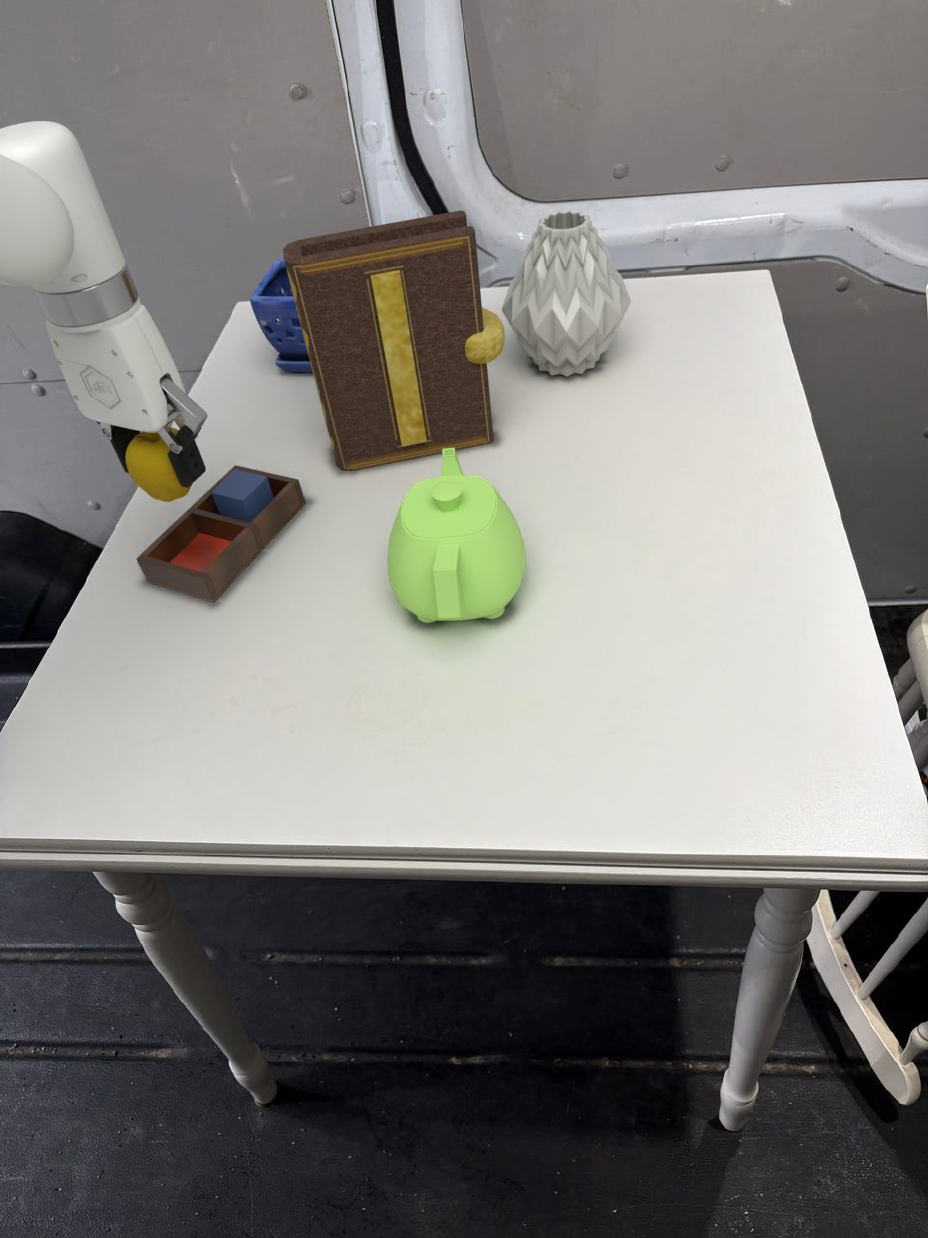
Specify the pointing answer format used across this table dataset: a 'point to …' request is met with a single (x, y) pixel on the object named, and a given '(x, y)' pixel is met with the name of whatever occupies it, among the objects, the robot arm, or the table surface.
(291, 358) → the flower pot
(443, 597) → the teapot
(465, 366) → the book
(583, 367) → the vase
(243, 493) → the blue block
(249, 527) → the tray
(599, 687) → the table surface
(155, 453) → the apple
